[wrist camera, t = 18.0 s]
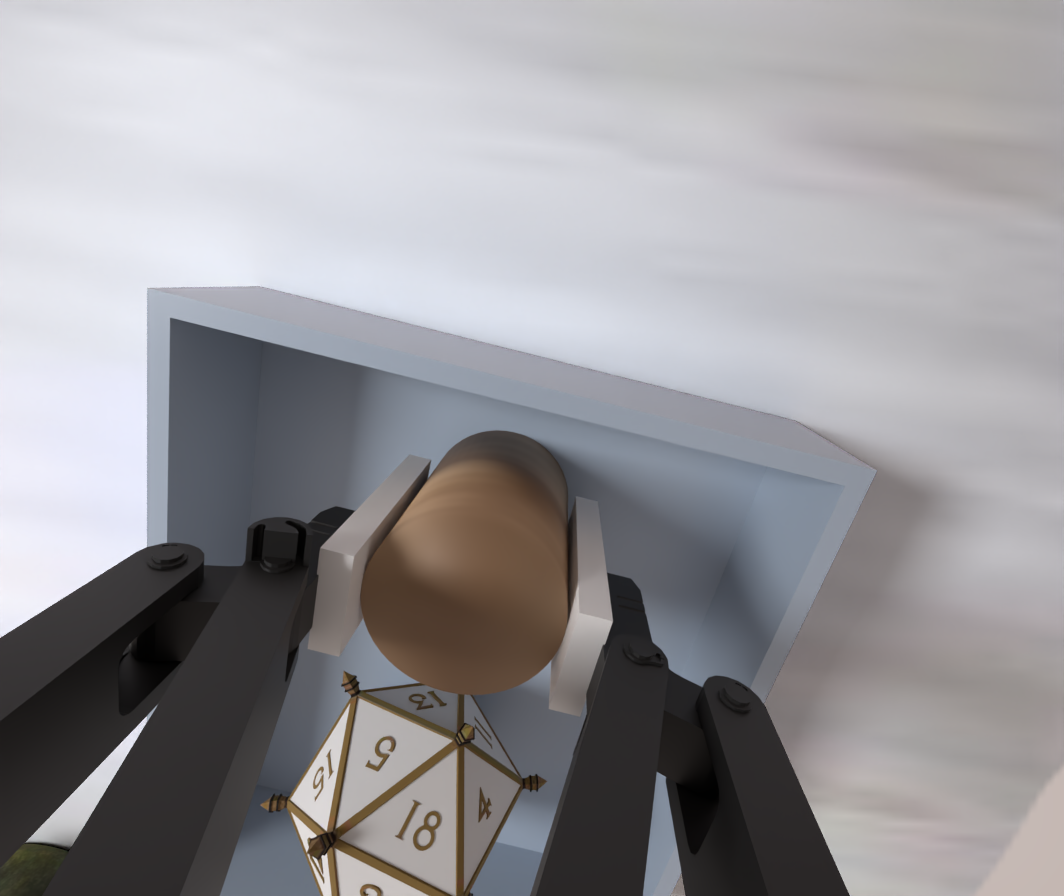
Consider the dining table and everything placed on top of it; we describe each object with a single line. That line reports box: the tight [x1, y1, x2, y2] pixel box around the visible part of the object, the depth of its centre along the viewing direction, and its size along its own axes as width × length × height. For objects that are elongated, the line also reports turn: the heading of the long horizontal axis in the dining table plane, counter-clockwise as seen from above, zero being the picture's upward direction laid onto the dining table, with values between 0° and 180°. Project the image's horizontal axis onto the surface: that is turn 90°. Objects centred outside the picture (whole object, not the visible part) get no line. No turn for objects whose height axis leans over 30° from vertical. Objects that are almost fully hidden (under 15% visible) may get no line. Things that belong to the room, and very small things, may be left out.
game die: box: [260, 671, 547, 896], centre depth 18 cm, size 9×8×10 cm
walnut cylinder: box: [360, 430, 568, 695], centre depth 16 cm, size 5×5×7 cm
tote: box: [147, 286, 877, 896], centre depth 19 cm, size 19×23×5 cm
